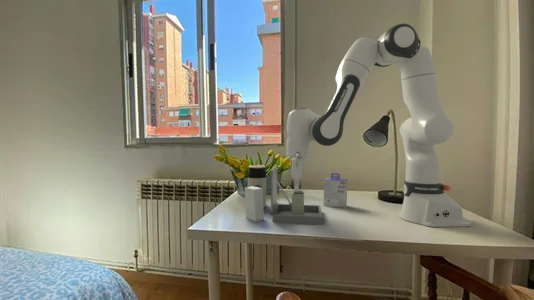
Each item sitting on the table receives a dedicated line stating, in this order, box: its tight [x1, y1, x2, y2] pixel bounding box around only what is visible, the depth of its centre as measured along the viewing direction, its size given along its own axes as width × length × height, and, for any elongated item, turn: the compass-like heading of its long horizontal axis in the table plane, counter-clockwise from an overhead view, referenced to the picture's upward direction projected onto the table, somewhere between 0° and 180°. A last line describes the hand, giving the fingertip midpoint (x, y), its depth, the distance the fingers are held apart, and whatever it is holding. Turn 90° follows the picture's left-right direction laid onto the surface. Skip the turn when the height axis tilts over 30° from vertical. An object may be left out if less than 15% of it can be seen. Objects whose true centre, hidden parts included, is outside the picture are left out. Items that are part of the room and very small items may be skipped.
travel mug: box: [247, 164, 267, 208], centre depth 119 cm, size 8×8×18 cm
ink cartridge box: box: [323, 172, 348, 209], centre depth 121 cm, size 10×6×14 cm, turn 75°
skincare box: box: [244, 186, 265, 222], centre depth 101 cm, size 6×4×12 cm
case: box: [270, 164, 324, 225], centre depth 104 cm, size 18×17×19 cm
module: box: [291, 189, 305, 216], centre depth 104 cm, size 4×4×10 cm
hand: (296, 187), depth 104 cm, fingers open, 8 cm apart
